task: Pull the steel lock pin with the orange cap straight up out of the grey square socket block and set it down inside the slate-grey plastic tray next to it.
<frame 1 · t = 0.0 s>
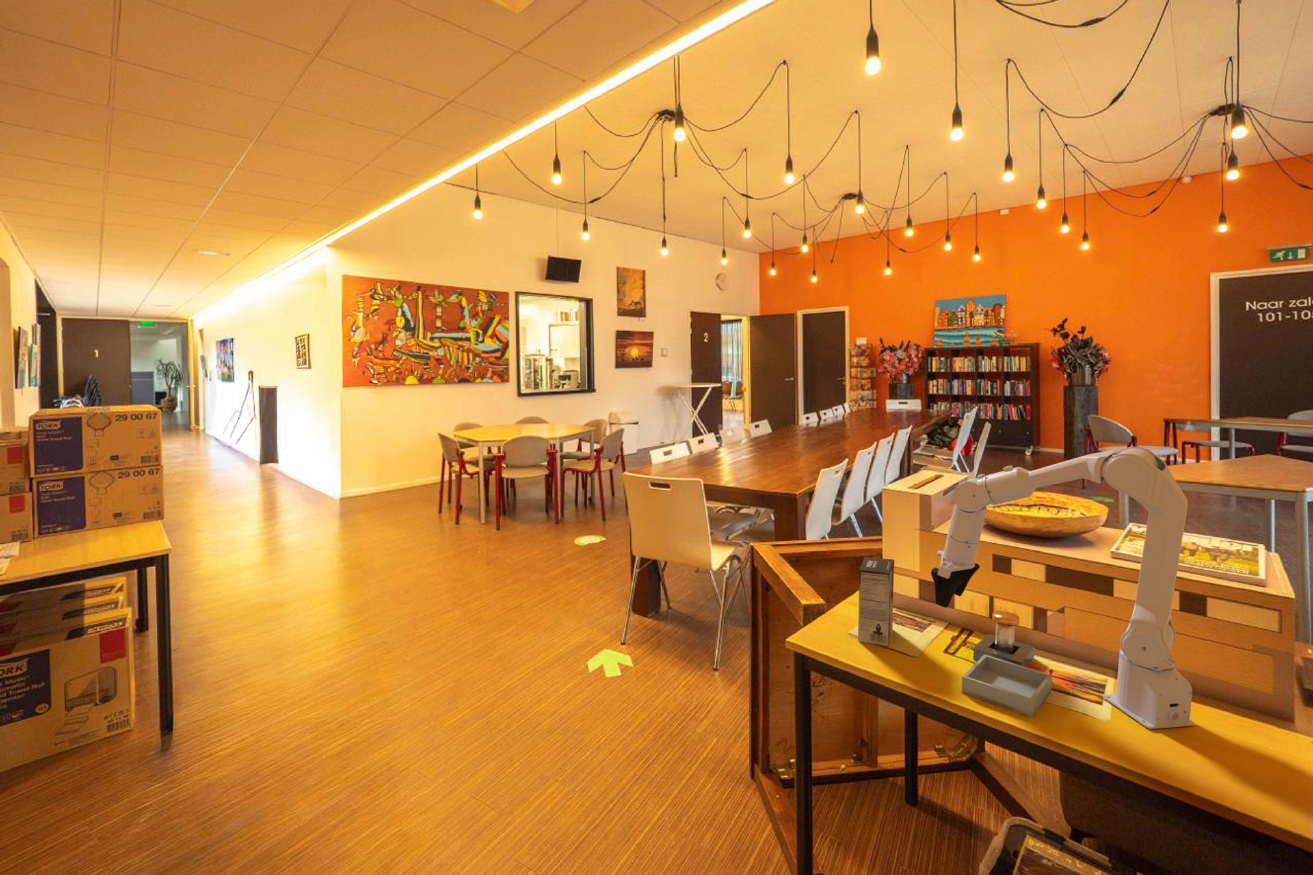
hand: (948, 599, 124), 11 cm above the table, tool pointing down, fingers open, 7 cm apart
coffee box: (875, 636, 132), on the table
tray: (1006, 691, 109), on the table
lock pin: (1004, 637, 120), in the grey square socket block
grey square socket block: (1003, 659, 120), on the table
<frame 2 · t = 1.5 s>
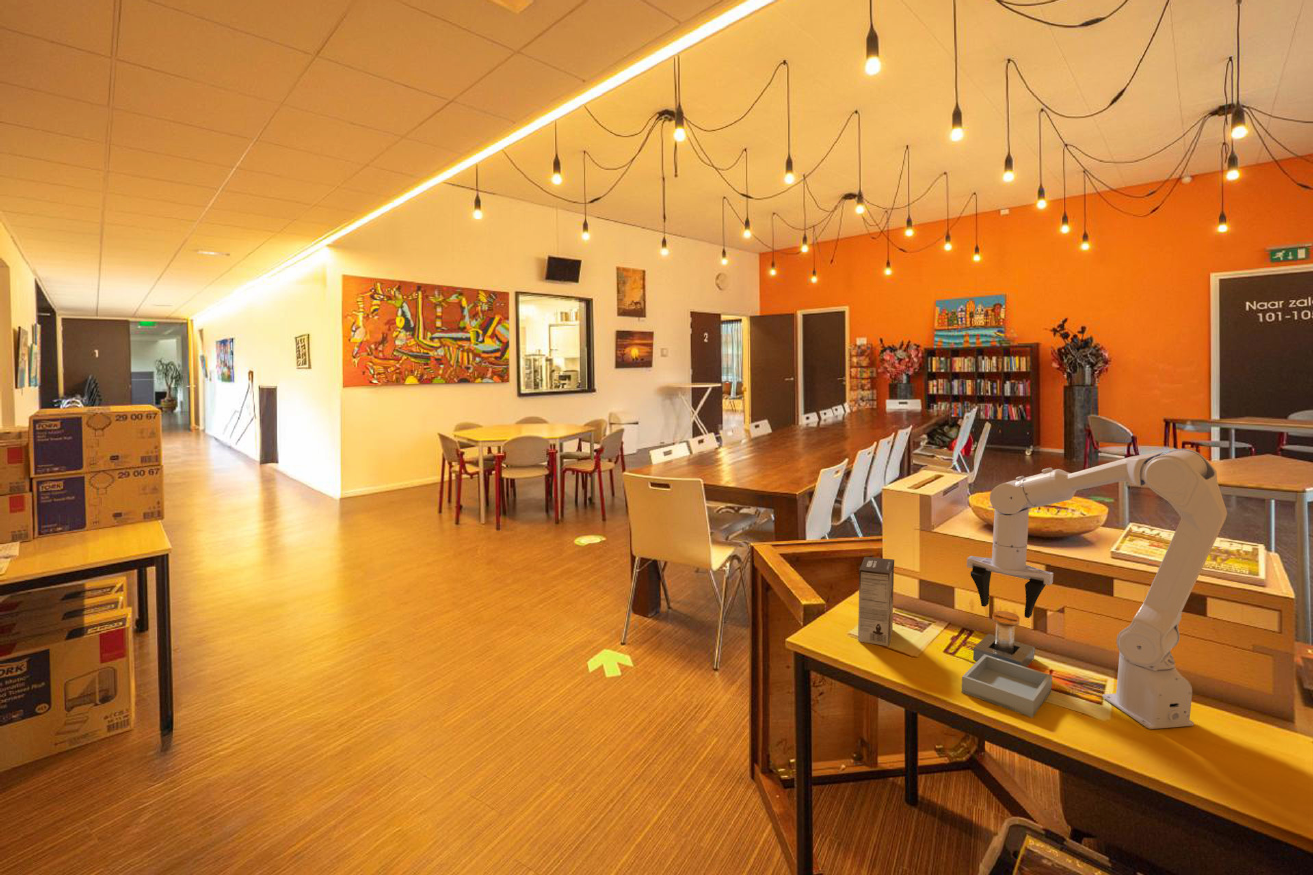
hand: (1006, 610, 119), 10 cm above the table, tool pointing down, fingers open, 7 cm apart
nothing on the table moved.
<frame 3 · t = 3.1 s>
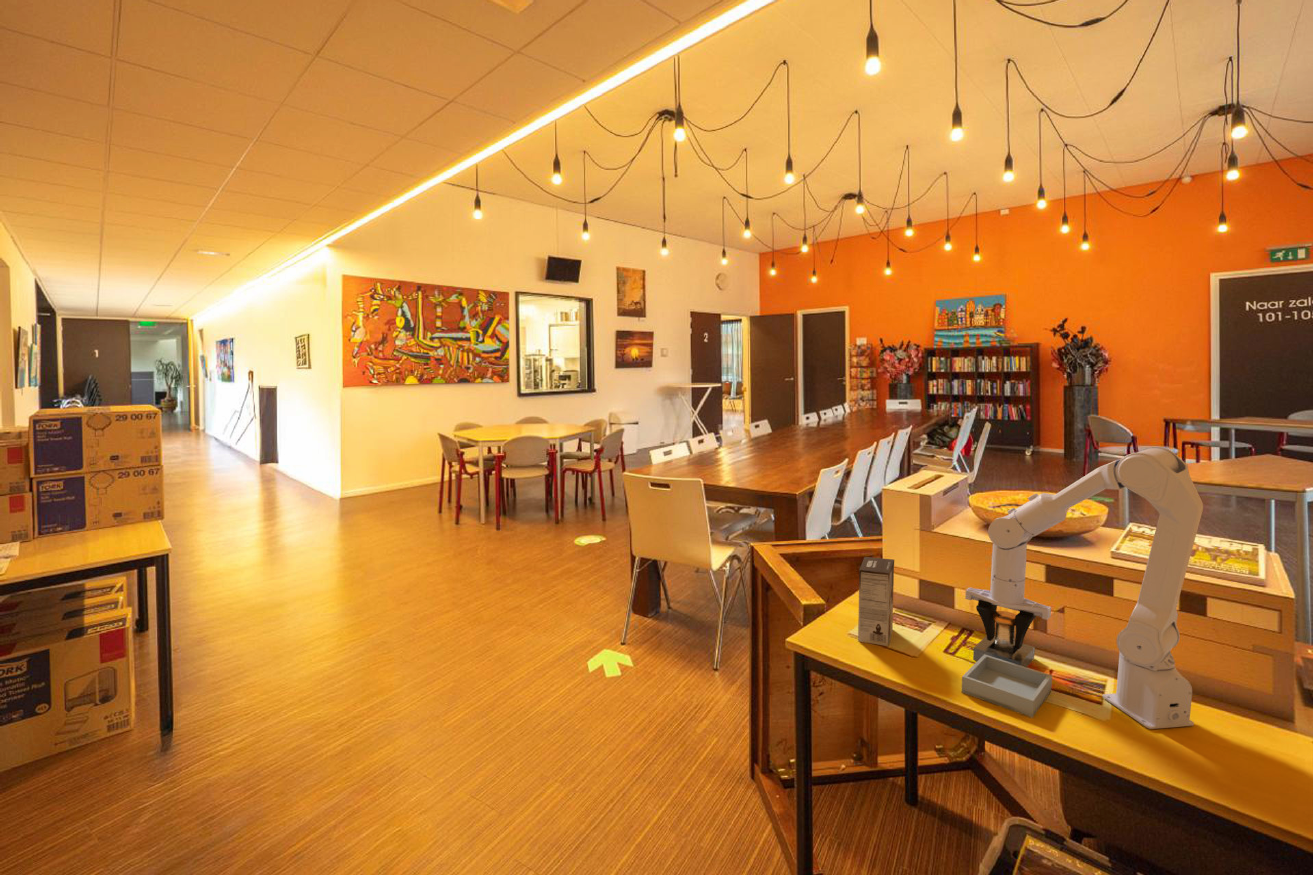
hand: (1004, 642, 120), 3 cm above the table, tool pointing down, fingers closed on lock pin, 4 cm apart
lock pin: (1004, 637, 120), in the grey square socket block, touching gripper
everything else where it was.
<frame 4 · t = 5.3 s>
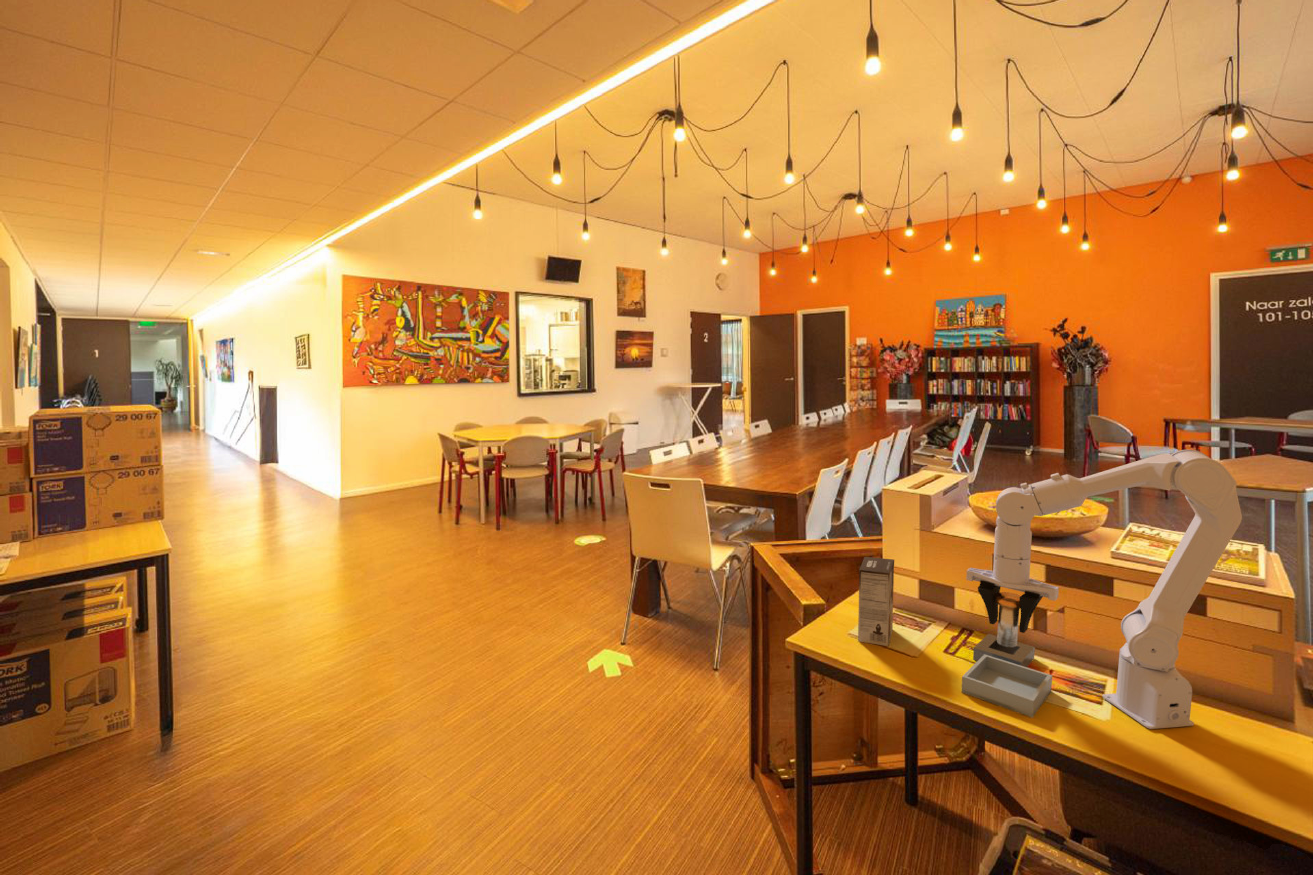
hand: (1008, 626, 112), 10 cm above the table, tool pointing down, fingers closed on lock pin, 4 cm apart
lock pin: (1008, 620, 112), point 11 cm above the table, touching gripper
everything else where it was.
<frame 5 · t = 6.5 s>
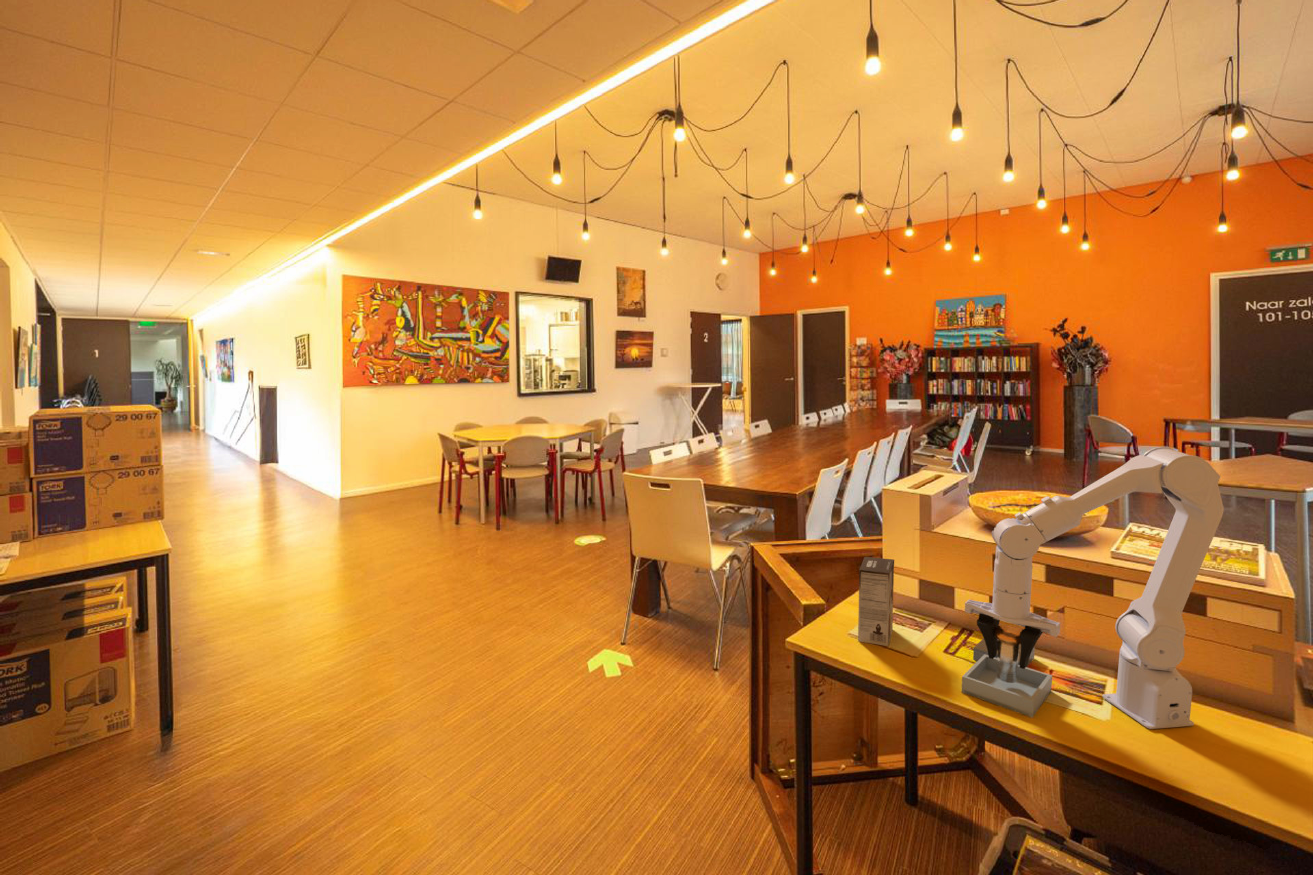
hand: (1007, 661, 108), 6 cm above the table, tool pointing down, fingers closed on lock pin, 4 cm apart
lock pin: (1008, 654, 109), point 7 cm above the table, tilted 6°, touching gripper
everything else where it was.
when the fingers open (6 cm above the table, at t = 7.4 s): lock pin drops 1 cm, resting on tray.
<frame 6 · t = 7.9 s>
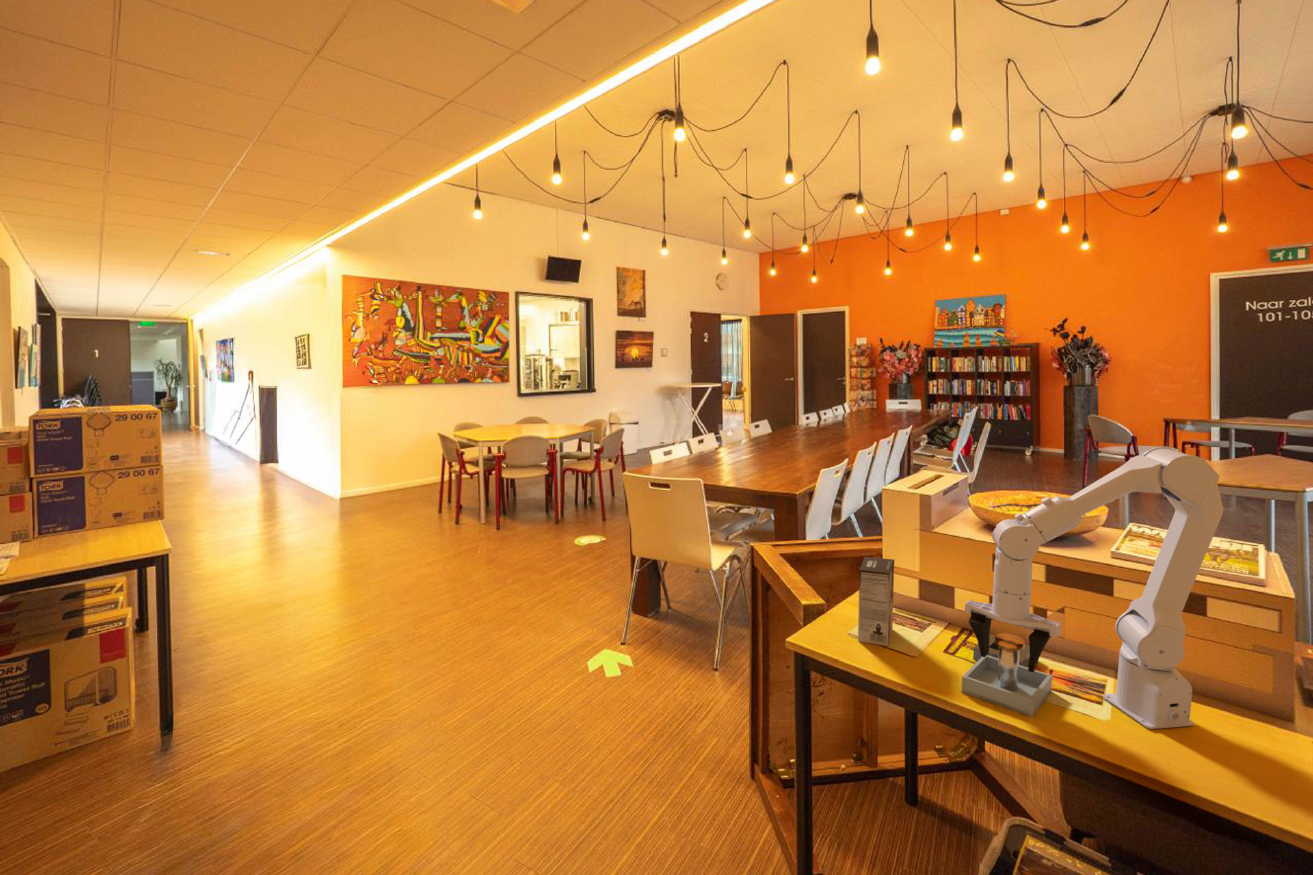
hand: (1007, 662, 108), 6 cm above the table, tool pointing down, fingers open, 7 cm apart
lock pin: (1008, 662, 109), in the tray, point 5 cm above the table
everything else where it was.
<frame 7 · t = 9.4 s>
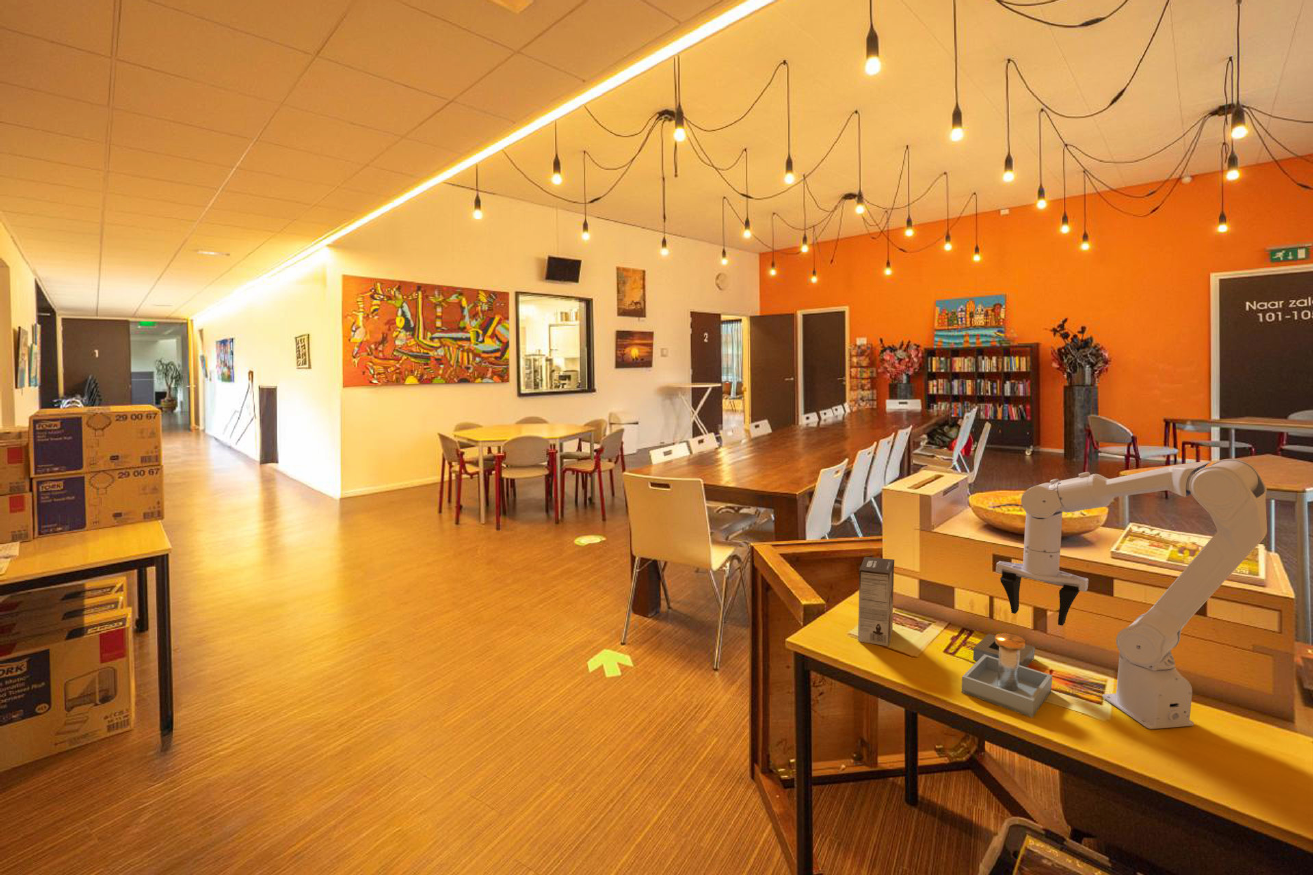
hand: (1037, 617, 115), 10 cm above the table, tool pointing down, fingers open, 7 cm apart
nothing on the table moved.
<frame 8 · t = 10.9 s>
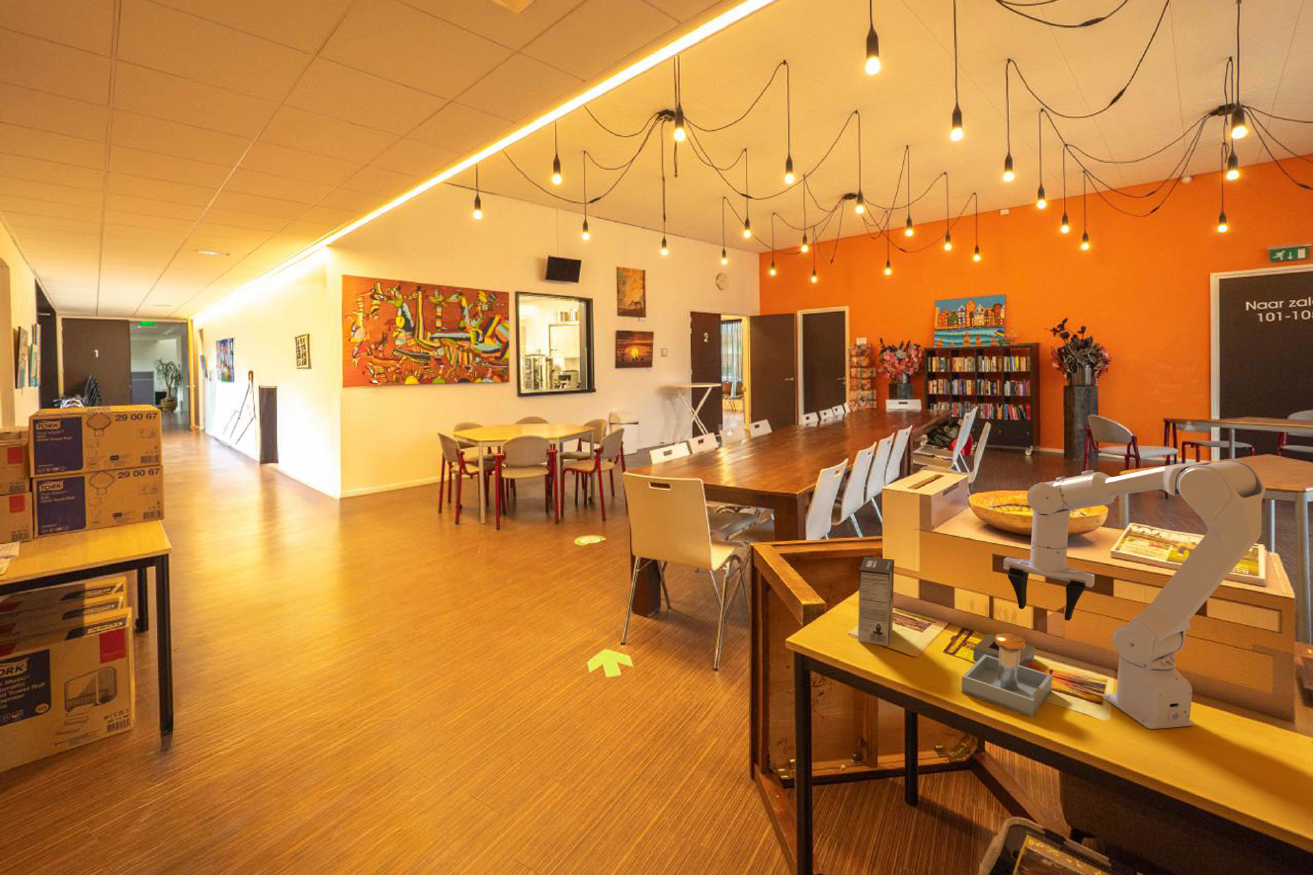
hand: (1044, 612, 117), 10 cm above the table, tool pointing down, fingers open, 7 cm apart
nothing on the table moved.
at the end: lock pin 0.9 cm from the tray (horizontally); lock pin point 5.1 cm above the table; the gripper is holding nothing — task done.
